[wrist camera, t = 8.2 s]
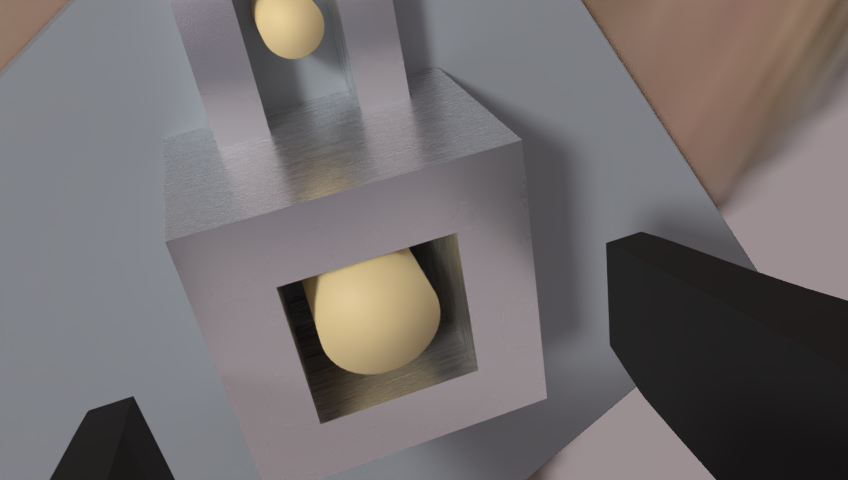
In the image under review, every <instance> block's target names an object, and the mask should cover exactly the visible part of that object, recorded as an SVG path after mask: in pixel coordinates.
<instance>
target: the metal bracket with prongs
mask: <svg viewBox="0 0 848 480" xmlns="http://www.w3.org/2000/svg"><path fill="white" fill-rule="evenodd" d="M326 1H327V6H328V10H329V15H330V19H331V24H332V28H333V33H334V37H335V42H336V46H337V50H338V55H339V59H340V64H341V68H342V73H343V77H344V82H345V86H346V91H342V92H338V93H334V94H331V95H327V96H323V97H319V98H315V99H311V100H308V101H304V102H300V103H296V104H292V105H288V106H285V107H281V108H277V109H273V110H269V111H265V112H264V110H263V106H262V103H261V99H260V96H259V92H258V89H257V86H256V82H255V79H254V75H253V72H252V68H251V65H250V62H249V58H248V55H247V51H246V48H245V44H244V41H243V37H242V34H241V31H240V27H239V24H238V20H237V17H236V13H235V10H234V6H233V3H232V0H169V3H170V6H171V9H172V12H173V15H174V18H175V21H176V24H177V27H178V30H179V33H180V36H181V39H182V42H183V45H184V48H185V51H186V54H187V57H188V60H189V63H190V66H191V69H192V72H193V75H194V78H195V81H196V84H197V87H198V90H199V93H200V96H201V99H202V102H203V105H204V108H205V111H206V114H207V117H208V120H209V123H210V126H208V127H204V128H200V129H196V130H193V131H189V132H185V133H181V134H177V135H173V136H170V137H166V138H164V180H165V243H166V245H167V248H168V250H169V253H170V255H171V258H172V260H173V263H174V265H175V267H176V270H177V272H178V275H179V277H180V280H181V282H182V285H183V287H184V290H185V292H186V295H187V297H188V299H189V302H190V304H191V307H192V309H193V312H194V314H195V317H196V319H197V322H198V324H199V327H200V329H201V331H202V334H203V336H204V339H205V341H206V344H207V346H208V349H209V351H210V354H211V356H212V359H213V361H214V363H215V366H216V368H217V371H218V373H219V376H220V378H221V381H222V383H223V386H224V388H225V391H226V393H227V396H228V398H229V400H230V403H231V405H232V408H233V410H234V413H235V415H236V418H237V420H238V423H239V425H240V428H241V430H242V432H243V435H244V437H245V440H246V442H247V445H248V447H249V450H250V452H251V455H252V457H253V460H254V462H255V464H256V467H257V469H258V472H259V474H260V477H261V479H262V480H319V479H322V478H325V477H327V476H330V475H333V474H336V473H339V472H342V471H344V470H347V469H350V468H353V467H356V466H358V465H361V464H364V463H367V462H370V461H372V460H375V459H378V458H381V457H384V456H387V455H389V454H392V453H395V452H398V451H401V450H403V449H406V448H409V447H412V446H415V445H417V444H420V443H423V442H426V441H429V440H432V439H434V438H437V437H440V436H443V435H446V434H448V433H451V432H454V431H457V430H460V429H462V428H465V427H468V426H471V425H474V424H477V423H479V422H482V421H485V420H488V419H491V418H493V417H496V416H499V415H502V414H505V413H507V412H510V411H513V410H516V409H519V408H522V407H524V406H527V405H530V404H533V403H536V402H538V401H541V400H544V399H547V392H546V382H545V372H544V361H543V351H542V341H541V330H540V320H539V310H538V299H537V289H536V279H535V268H534V258H533V248H532V237H531V227H530V217H529V206H528V196H527V185H526V175H525V165H524V154H523V144H522V139H520V138H519V137H518V136H517V135H516V134H515V133H513V132H512V131H511V130H510V129H509V128H508V127H506V126H505V125H504V124H503V123H502V122H501V121H499V120H498V119H497V118H496V117H495V116H494V115H492V114H491V113H490V112H489V111H488V110H487V109H485V108H484V107H483V106H482V105H481V104H480V103H478V102H477V101H476V100H475V99H474V98H473V97H471V96H470V95H469V94H468V93H467V92H466V91H464V90H463V89H462V88H461V87H460V86H459V85H457V84H456V83H455V82H454V81H453V80H452V79H450V78H449V77H448V76H447V75H446V74H445V73H443V72H442V71H441V70H440V69H439V68H438V67H434V68H430V69H426V70H423V71H419V72H415V73H411V74H407V75H406V72H405V67H404V61H403V56H402V50H401V44H400V39H399V33H398V27H397V22H396V16H395V11H394V5H393V0H326ZM407 247H410V250H411V253H412V254H413V256H414V258H415V259H416V261H417V263H418V264H419V266H420V268H421V269H422V271H423V273H424V275H425V276H426V278H427V280H428V281H429V283H430V285H431V286H432V288H433V290H434V291H435V293H436V295H437V298H438V300H439V304H440V321H439V326H438V329H437V332H436V334H435V336H434V338H433V339H432V341H431V342H430V344H429V345H428V346H427V348H426V349H425V350H424V351H423V352H422V353H421V354H420V355H419V356H417V357H416V358H415V359H414V360H412V361H411V362H409V363H408V364H406V365H404V366H402V367H400V368H397V369H395V370H392V371H389V372H385V373H379V374H359V373H354V372H351V371H348V370H345V369H343V368H341V367H339V366H338V365H336V364H335V363H334V362H333V361H332V360H331V359H330V358H329V357H328V356H327V355H326V353H325V351H324V350H323V347H322V345H321V342H320V339H319V335H318V332H317V329H316V326H315V323H314V319H313V316H312V313H311V310H310V307H309V303H308V300H307V297H306V294H305V291H302V292H299V293H296V294H292V295H289V296H286V294H285V291H284V288H283V285H286V284H289V283H293V282H296V281H299V280H302V279H306V278H309V277H312V276H316V275H319V274H322V273H325V272H329V271H332V270H335V269H339V268H342V267H345V266H348V265H352V264H355V263H358V262H361V261H365V260H368V259H371V258H375V257H378V256H381V255H384V254H388V253H391V252H394V251H398V250H401V249H404V248H407Z"/></svg>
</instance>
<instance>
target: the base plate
mask: <svg viewBox="0 0 848 480" xmlns="http://www.w3.org/2000/svg"><path fill="white" fill-rule="evenodd" d="M232 3H233V6H234V10H235V13H236V17H237V20H238V24H239V27H240V31H241V34H242V37H243V41H244V44H245V48H246V51H247V55H248V58H249V62H250V65H251V68H252V72H253V75H254V79H255V82H256V86H257V89H258V92H259V96H260V99H261V103H262V106H263V110H264V112H265V111H269V110H273V109H277V108H281V107H285V106H288V105H292V104H296V103H300V102H304V101H308V100H311V99H315V98H319V97H323V96H327V95H331V94H334V93H338V92H342V91H346V86H345V82H344V77H343V73H342V68H341V64H340V59H339V55H338V50H337V46H336V42H335V37H334V33H333V28H332V24H331V19H330V15H329V10H328V6H327V1H326V0H232ZM393 5H394V11H395V16H396V22H397V27H398V33H399V39H400V44H401V50H402V56H403V61H404V67H405V72H406V75H407V74H411V73H415V72H419V71H423V70H426V69H430V68H434V67H438V68H439V69H440V70H441V71H442V72H443V73H445V74H446V75H447V76H448V77H449V78H450V79H452V80H453V81H454V82H455V83H456V84H457V85H459V86H460V87H461V88H462V89H463V90H464V91H466V92H467V93H468V94H469V95H470V96H471V97H473V98H474V99H475V100H476V101H477V102H478V103H480V104H481V105H482V106H483V107H484V108H485V109H487V110H488V111H489V112H490V113H491V114H492V115H494V116H495V117H496V118H497V119H498V120H499V121H501V122H502V123H503V124H504V125H505V126H506V127H508V128H509V129H510V130H511V131H512V132H513V133H515V134H516V135H517V136H518V137H519V138H520V139H522V144H523V154H524V165H525V175H526V185H527V196H528V206H529V217H530V227H531V237H532V248H533V258H534V268H535V279H536V289H537V299H538V310H539V320H540V330H541V341H542V351H543V361H544V372H545V382H546V392H547V399H544V400H541V401H538V402H536V403H533V404H530V405H527V406H524V407H522V408H519V409H516V410H513V411H510V412H507V413H505V414H502V415H499V416H496V417H493V418H491V419H488V420H485V421H482V422H479V423H477V424H474V425H471V426H468V427H465V428H462V429H460V430H457V431H454V432H451V433H448V434H446V435H443V436H440V437H437V438H434V439H432V440H429V441H426V442H423V443H420V444H417V445H415V446H412V447H409V448H406V449H403V450H401V451H398V452H395V453H392V454H389V455H387V456H384V457H381V458H378V459H375V460H372V461H370V462H367V463H364V464H361V465H358V466H356V467H353V468H350V469H347V470H344V471H342V472H339V473H336V474H333V475H330V476H327V477H325V478H322V479H319V480H526V479H527V478H529V477H530V476H531V475H532V474H533V473H534V472H536V471H537V470H538V469H539V468H540V467H542V466H543V465H544V464H545V463H546V462H548V461H549V460H550V459H551V458H552V457H553V456H555V455H556V454H557V453H558V452H559V451H561V450H562V449H563V448H564V447H565V446H567V445H568V444H569V443H570V442H571V441H572V440H574V439H575V438H576V437H577V436H578V435H580V434H581V433H582V432H583V431H584V430H585V429H587V428H588V427H589V426H590V425H591V424H593V423H594V422H595V421H596V420H597V419H598V418H600V417H601V416H602V415H603V414H604V413H606V412H607V411H608V410H609V409H610V408H612V407H613V406H614V405H615V404H616V403H617V402H619V401H620V400H621V399H622V398H623V397H625V396H626V395H627V394H628V393H629V392H631V391H632V390H633V389H634V388H635V387H636V385H635V383H634V382H633V380H632V379H631V377H630V376H629V374H628V373H627V371H626V370H625V368H624V367H623V365H622V364H621V362H620V360H619V359H618V357H617V356H616V354H615V353H614V351H613V350H612V348H611V346H610V338H609V312H608V285H607V259H606V243H607V242H610V241H614V240H617V239H620V238H623V237H626V236H629V235H632V234H635V233H638V232H645V233H648V234H651V235H655V236H658V237H661V238H664V239H667V240H670V241H673V242H676V243H678V244H681V245H684V246H687V247H690V248H692V249H695V250H698V251H701V252H703V253H706V254H709V255H712V256H714V257H717V258H720V259H723V260H725V261H728V262H731V263H734V264H736V265H739V266H742V267H745V268H748V269H750V270H753V271H756V272H758V271H757V270H756V268H755V267H754V265H753V264H752V262H751V261H750V259H749V258H748V256H747V254H746V253H745V251H744V250H743V248H742V247H741V245H740V244H739V242H738V241H737V239H736V237H735V236H734V234H733V233H732V231H731V230H730V228H729V227H728V225H727V224H726V222H725V221H724V219H723V218H722V216H721V214H720V213H719V211H718V210H717V208H716V207H715V205H714V204H713V202H712V201H711V199H710V198H709V196H708V194H707V193H706V191H705V190H704V188H703V187H702V185H701V184H700V182H699V181H698V179H697V178H696V176H695V175H694V173H693V171H692V170H691V168H690V167H689V165H688V164H687V162H686V161H685V159H684V158H683V156H682V155H681V153H680V151H679V150H678V148H677V147H676V145H675V144H674V142H673V141H672V139H671V138H670V136H669V135H668V133H667V132H666V130H665V128H664V127H663V125H662V124H661V122H660V121H659V119H658V118H657V116H656V115H655V113H654V112H653V110H652V108H651V107H650V105H649V104H648V102H647V101H646V99H645V98H644V96H643V95H642V93H641V92H640V90H639V89H638V87H637V85H636V84H635V82H634V81H633V79H632V78H631V76H630V75H629V73H628V72H627V70H626V69H625V67H624V65H623V64H622V62H621V61H620V59H619V58H618V56H617V55H616V53H615V52H614V50H613V49H612V47H611V46H610V44H609V42H608V41H607V39H606V38H605V36H604V35H603V33H602V32H601V30H600V29H599V27H598V26H597V24H596V23H595V21H594V19H593V18H592V16H591V15H590V13H589V12H588V10H587V9H586V7H585V6H584V4H583V3H582V1H581V0H393ZM208 126H210V123H209V120H208V117H207V114H206V111H205V108H204V105H203V102H202V99H201V96H200V93H199V90H198V87H197V84H196V81H195V78H194V75H193V72H192V69H191V66H190V63H189V60H188V57H187V54H186V51H185V48H184V45H183V42H182V39H181V36H180V33H179V30H178V27H177V24H176V21H175V18H174V15H173V12H172V9H171V6H170V3H169V0H69V1H68V2H67V3H66V5H65V6H64V7H63V8H62V9H61V10H60V11H59V12H58V13H57V14H56V15H55V16H54V17H53V18H52V19H51V20H50V21H49V22H48V23H47V24H46V25H45V26H44V27H43V28H42V29H41V30H40V31H39V32H38V33H37V34H36V35H35V36H34V37H33V38H32V39H31V41H30V42H29V43H28V44H27V45H26V46H25V47H24V48H23V49H22V50H21V51H20V52H19V53H18V54H17V55H16V56H15V57H14V58H13V59H12V60H11V61H10V62H9V63H8V64H7V65H6V66H5V67H4V68H3V69H2V70H1V71H0V480H50V478H51V476H52V474H53V472H54V471H55V469H56V467H57V465H58V463H59V462H60V460H61V458H62V456H63V454H64V452H65V451H66V449H67V447H68V445H69V443H70V441H71V440H72V438H73V436H74V434H75V432H76V431H77V429H78V427H79V425H80V424H81V422H82V420H83V418H84V417H85V415H86V413H87V412H88V411H89V410H92V409H95V408H98V407H101V406H104V405H107V404H110V403H113V402H116V401H119V400H123V399H126V398H129V397H132V396H134V398H135V400H136V402H137V404H138V406H139V408H140V410H141V412H142V414H143V416H144V418H145V420H146V422H147V424H148V426H149V428H150V430H151V432H152V434H153V436H154V438H155V440H156V442H157V444H158V446H159V448H160V450H161V452H162V454H163V456H164V458H165V460H166V462H167V464H168V466H169V468H170V470H171V472H172V474H173V476H174V478H175V480H262V479H261V477H260V474H259V472H258V469H257V467H256V464H255V462H254V460H253V457H252V455H251V452H250V450H249V447H248V445H247V442H246V440H245V437H244V435H243V432H242V430H241V428H240V425H239V423H238V420H237V418H236V415H235V413H234V410H233V408H232V405H231V403H230V400H229V398H228V396H227V393H226V391H225V388H224V386H223V383H222V381H221V378H220V376H219V373H218V371H217V368H216V366H215V363H214V361H213V359H212V356H211V354H210V351H209V349H208V346H207V344H206V341H205V339H204V336H203V334H202V331H201V329H200V327H199V324H198V322H197V319H196V317H195V314H194V312H193V309H192V307H191V304H190V302H189V299H188V297H187V295H186V292H185V290H184V287H183V285H182V282H181V280H180V277H179V275H178V272H177V270H176V267H175V265H174V263H173V260H172V258H171V255H170V253H169V250H168V248H167V245H166V243H165V180H164V138H166V137H170V136H173V135H177V134H181V133H185V132H189V131H193V130H196V129H200V128H204V127H208ZM283 288H284V291H285V294H286V296H289V295H292V294H296V293H299V292H302V291H305V294H306V297H307V300H308V303H309V307H310V310H311V313H312V316H313V319H314V323H315V326H316V329H317V332H318V335H319V339H320V342H321V345H322V347H323V350H324V351H325V353H326V355H327V356H328V357H329V358H330V359H331V360H332V361H333V362H334V363H335V364H336V365H338V366H339V367H341V368H343V369H345V370H348V371H351V372H354V373H359V374H379V373H385V372H389V371H392V370H395V369H397V368H400V367H402V366H404V365H406V364H408V363H409V362H411V361H412V360H414V359H415V358H416V357H417V356H419V355H420V354H421V353H422V352H423V351H424V350H425V349H426V348H427V346H428V345H429V344H430V342H431V341H432V339H433V338H434V336H435V334H436V332H437V329H438V326H439V321H440V304H439V300H438V298H437V295H436V293H435V291H434V290H433V288H432V286H431V285H430V283H429V281H428V280H427V278H426V276H425V275H424V273H423V271H422V269H421V268H420V266H419V264H418V263H417V261H416V259H415V258H414V256H413V254H412V253H411V250H410V247H407V248H404V249H401V250H398V251H394V252H391V253H388V254H384V255H381V256H378V257H375V258H371V259H368V260H365V261H361V262H358V263H355V264H352V265H348V266H345V267H342V268H339V269H335V270H332V271H329V272H325V273H322V274H319V275H316V276H312V277H309V278H306V279H302V280H299V281H296V282H293V283H289V284H286V285H283Z"/></svg>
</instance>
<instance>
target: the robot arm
mask: <svg viewBox="0 0 848 480" xmlns="http://www.w3.org/2000/svg"><path fill="white" fill-rule="evenodd" d="M606 259H607V285H608V312H609V338H610V346H611V348H612V350H613V351H614V353H615V354H616V356H617V357H618V359H619V360H620V362H621V364H622V365H623V367H624V368H625V370H626V371H627V373H628V374H629V376H630V377H631V379H632V380H633V382H634V383H635V385H636V386H637V388H638V389H639V391H640V392H641V393H642V395H643V396H644V397H645V399H646V400H647V401H648V402H649V403H650V405H651V406H652V407H653V408H654V409H655V410H656V412H657V413H658V414H659V415H660V416H661V417H662V419H664V421H665V422H666V423H667V424H668V425H669V427H670V428H671V429H672V430H673V431H674V432H675V434H677V436H678V437H679V438H680V439H681V440H682V442H683V443H684V444H685V445H686V446H687V447H688V448H689V449H690V450H691V452H692V453H693V454H694V455H695V456H696V457H697V458H698V460H699V461H701V463H702V464H703V465H704V466H705V468H706V469H707V470H708V471H709V472H710V473H711V474H712V475H713V477H714V478H715V479H716V480H848V301H847V300H844V299H840V298H837V297H833V296H830V295H827V294H824V293H820V292H817V291H813V290H810V289H807V288H804V287H801V286H798V285H794V284H791V283H788V282H785V281H782V280H779V279H776V278H773V277H770V276H767V275H765V274H762V273H759V272H756V271H753V270H750V269H748V268H745V267H742V266H739V265H736V264H734V263H731V262H728V261H725V260H723V259H720V258H717V257H714V256H712V255H709V254H706V253H703V252H701V251H698V250H695V249H692V248H690V247H687V246H684V245H681V244H678V243H676V242H673V241H670V240H667V239H664V238H661V237H658V236H655V235H651V234H648V233H645V232H638V233H635V234H632V235H629V236H626V237H623V238H620V239H617V240H614V241H610V242H607V243H606ZM50 480H175V478H174V476H173V474H172V472H171V470H170V468H169V466H168V464H167V462H166V460H165V458H164V456H163V454H162V452H161V450H160V448H159V446H158V444H157V442H156V440H155V438H154V436H153V434H152V432H151V430H150V428H149V426H148V424H147V422H146V420H145V418H144V416H143V414H142V412H141V410H140V408H139V406H138V404H137V402H136V400H135V398H134V396H132V397H129V398H126V399H123V400H119V401H116V402H113V403H110V404H107V405H104V406H101V407H98V408H95V409H92V410H89V411H88V412H87V413H86V415H85V417H84V418H83V420H82V422H81V424H80V425H79V427H78V429H77V431H76V432H75V434H74V436H73V438H72V440H71V441H70V443H69V445H68V447H67V449H66V451H65V452H64V454H63V456H62V458H61V460H60V462H59V463H58V465H57V467H56V469H55V471H54V472H53V474H52V476H51V478H50Z"/></svg>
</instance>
